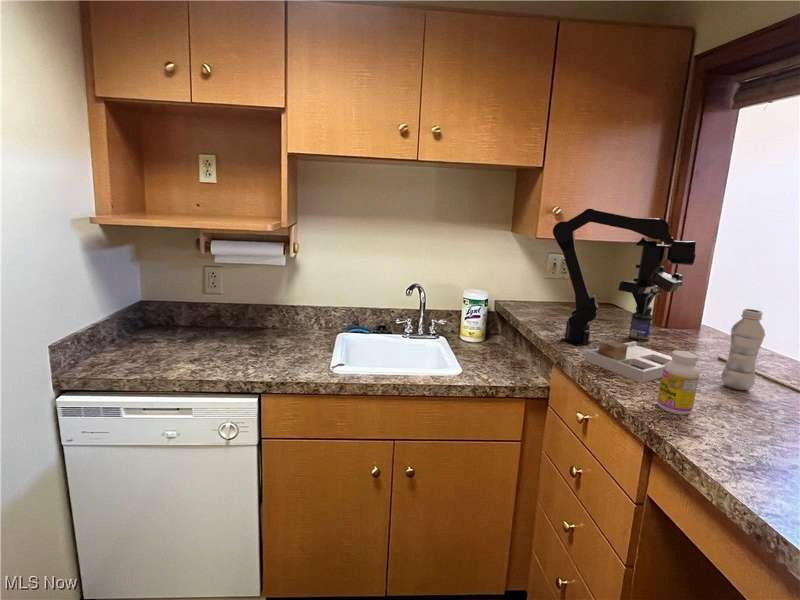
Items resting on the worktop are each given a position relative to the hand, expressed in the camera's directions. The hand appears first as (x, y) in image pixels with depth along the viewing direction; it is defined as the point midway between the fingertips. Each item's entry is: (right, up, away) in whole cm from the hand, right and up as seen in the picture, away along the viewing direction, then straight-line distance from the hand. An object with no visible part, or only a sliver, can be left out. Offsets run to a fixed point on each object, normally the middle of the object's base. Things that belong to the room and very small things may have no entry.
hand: (641, 313), depth 133 cm
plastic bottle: (+11, -18, -22) cm, 31 cm away
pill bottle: (+8, -9, +16) cm, 20 cm away
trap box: (-6, -14, -9) cm, 18 cm away
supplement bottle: (-12, -20, -35) cm, 42 cm away
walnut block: (-14, -12, -9) cm, 20 cm away
